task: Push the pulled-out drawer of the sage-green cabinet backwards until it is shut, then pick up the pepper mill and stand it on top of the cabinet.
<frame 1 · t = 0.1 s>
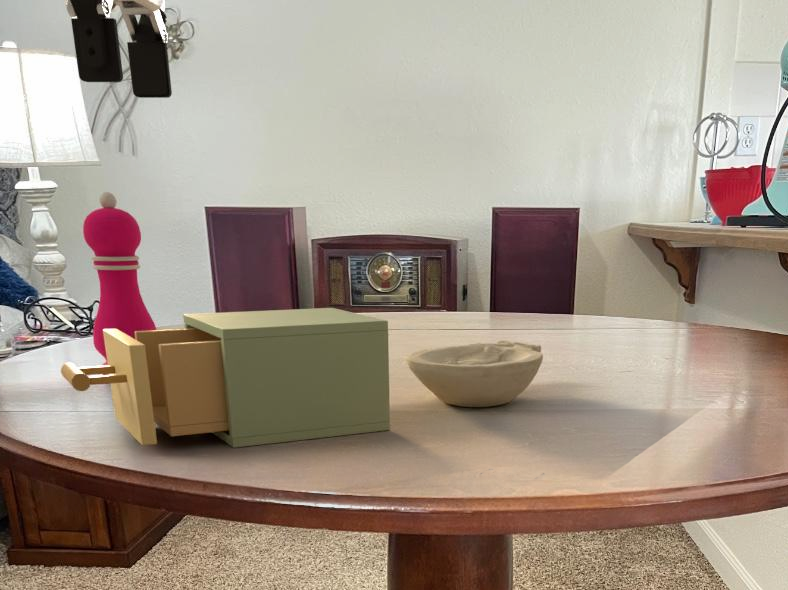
hand: (128, 89, 71), 27 cm above the table, tool pointing down, fingers open, 9 cm apart
drawer: (177, 380, 76), point 5 cm above the table, slide at 6.0 cm
pepper mill: (131, 380, 105), on the table
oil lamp: (487, 397, 97), on the table
cabinet: (290, 424, 83), on the table
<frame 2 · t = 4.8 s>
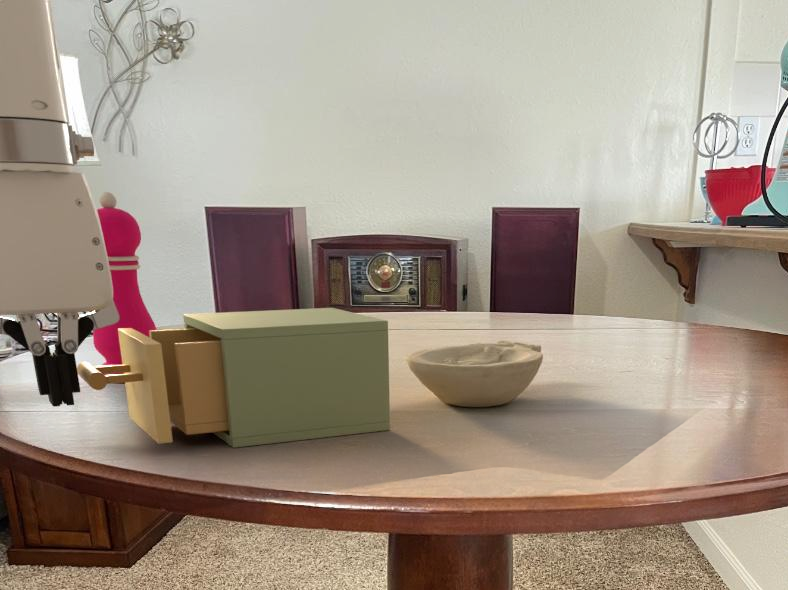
hand: (61, 402, 72), 4 cm above the table, tool pointing down, fingers closed
drawer: (192, 379, 77), point 5 cm above the table, slide at 4.7 cm, touching gripper
everything else where it was.
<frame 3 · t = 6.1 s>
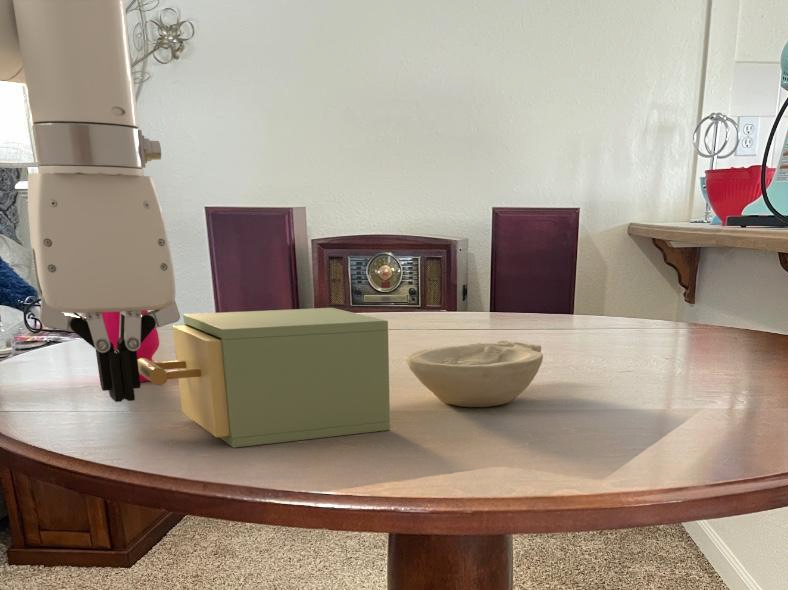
hand: (122, 398, 75), 4 cm above the table, tool pointing down, fingers closed
drawer: (245, 375, 79), point 5 cm above the table, slide at 0.0 cm, touching cabinet, gripper
everything else where it was.
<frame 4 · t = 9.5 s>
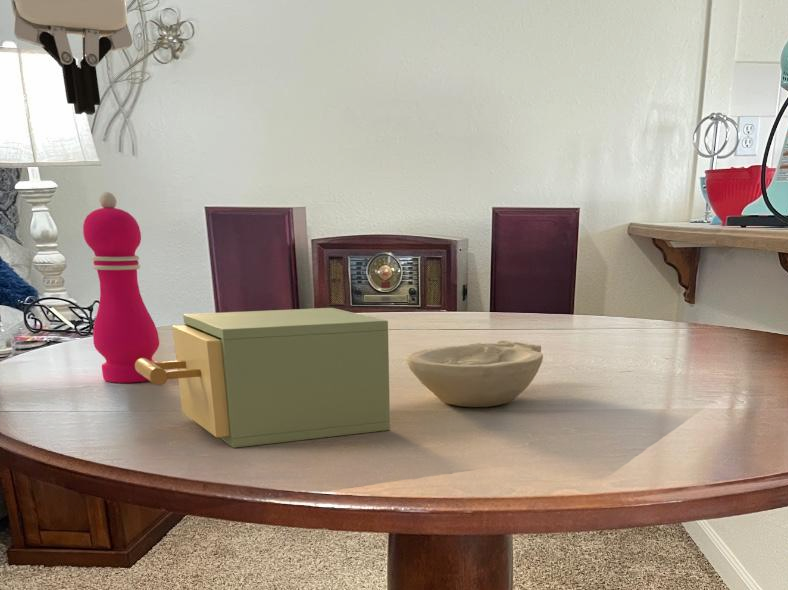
hand: (85, 112, 89), 27 cm above the table, tool pointing down, fingers closed
drawer: (245, 375, 79), point 5 cm above the table, slide at 0.0 cm
everything else where it was.
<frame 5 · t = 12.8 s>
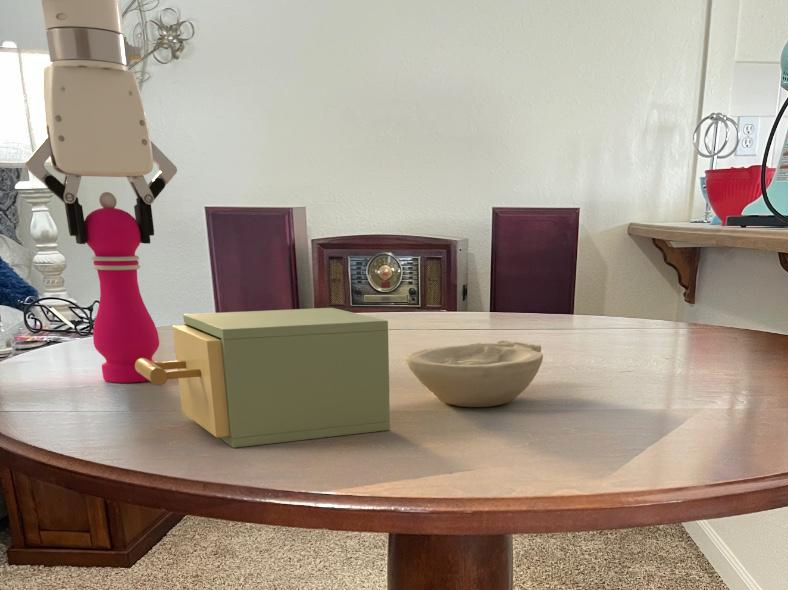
hand: (113, 241, 99), 15 cm above the table, tool pointing down, fingers closed on pepper mill, 6 cm apart
pepper mill: (131, 380, 105), on the table, touching gripper
everything else where it was.
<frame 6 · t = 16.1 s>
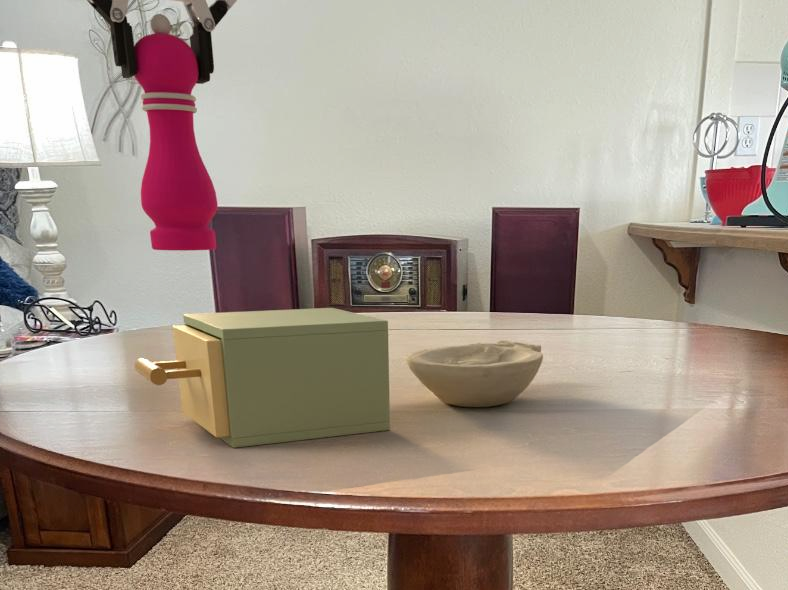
hand: (166, 77, 83), 30 cm above the table, tool pointing down, fingers closed on pepper mill, 6 cm apart
pepper mill: (184, 251, 89), point 14 cm above the table, touching gripper
everything else where it was.
when the fingers open (25 cm above the table, at t = 19.6 s): pepper mill stays where it is, resting on cabinet.
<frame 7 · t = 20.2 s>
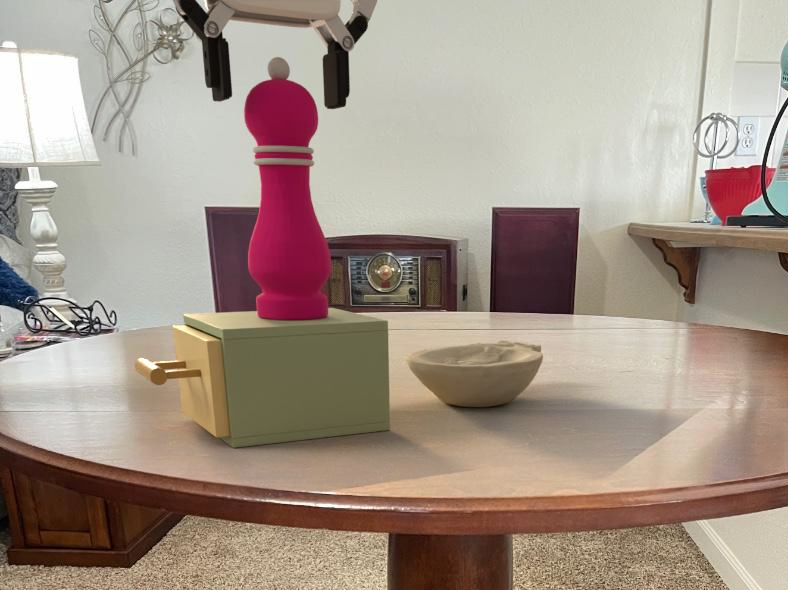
hand: (280, 103, 73), 26 cm above the table, tool pointing down, fingers open, 9 cm apart
pepper mill: (293, 319, 79), point 9 cm above the table, touching cabinet
everything else where it was.
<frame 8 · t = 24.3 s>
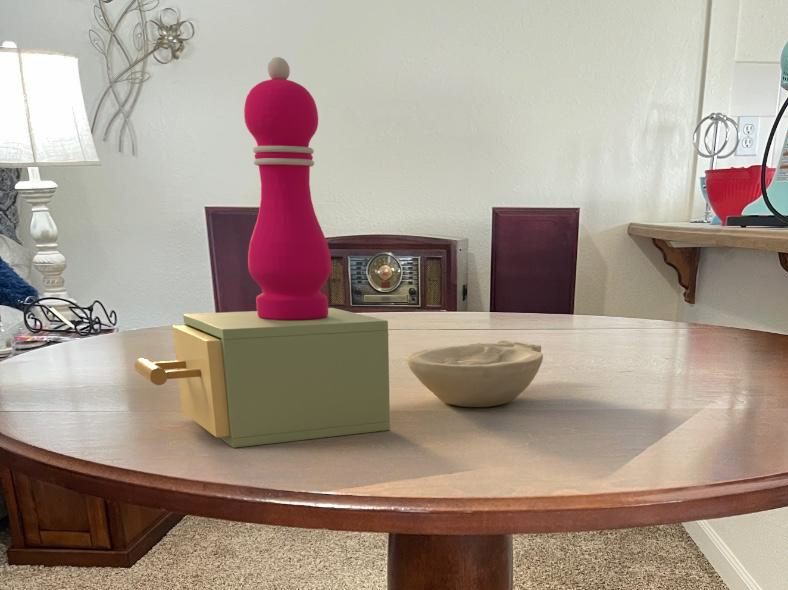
nothing on the table moved.
at the end: drawer slide at 0.0 cm; pepper mill inside the target area on the cabinet (0.4 cm from its centre), point 9.4 cm above the cabinet's base; pepper mill tilted 0° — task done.
